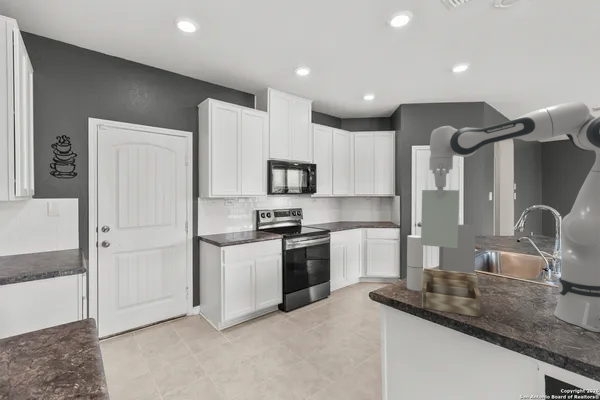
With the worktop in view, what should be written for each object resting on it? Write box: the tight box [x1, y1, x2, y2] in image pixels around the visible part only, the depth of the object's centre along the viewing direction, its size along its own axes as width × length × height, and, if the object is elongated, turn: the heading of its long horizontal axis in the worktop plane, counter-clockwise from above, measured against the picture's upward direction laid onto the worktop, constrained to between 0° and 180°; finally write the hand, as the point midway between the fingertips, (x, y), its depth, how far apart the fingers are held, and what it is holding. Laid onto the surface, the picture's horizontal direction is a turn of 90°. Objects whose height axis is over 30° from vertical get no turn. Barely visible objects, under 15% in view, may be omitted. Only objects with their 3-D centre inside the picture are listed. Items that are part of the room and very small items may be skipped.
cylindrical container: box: [406, 234, 424, 292], centre depth 134 cm, size 7×7×25 cm
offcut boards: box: [433, 271, 468, 298], centre depth 113 cm, size 12×6×13 cm, turn 64°
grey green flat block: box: [420, 189, 460, 248], centre depth 120 cm, size 14×2×24 cm, turn 64°
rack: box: [421, 267, 482, 318], centre depth 115 cm, size 20×16×12 cm
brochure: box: [438, 224, 476, 274], centre depth 136 cm, size 14×6×30 cm, turn 84°
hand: (440, 198), depth 119 cm, fingers closed on grey green flat block, 2 cm apart
